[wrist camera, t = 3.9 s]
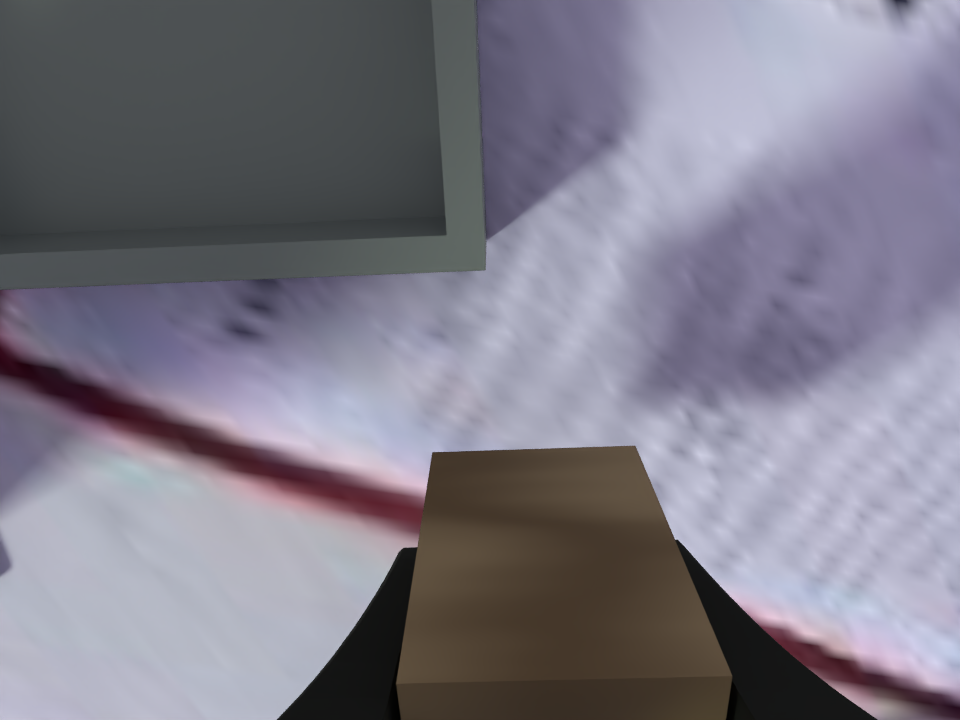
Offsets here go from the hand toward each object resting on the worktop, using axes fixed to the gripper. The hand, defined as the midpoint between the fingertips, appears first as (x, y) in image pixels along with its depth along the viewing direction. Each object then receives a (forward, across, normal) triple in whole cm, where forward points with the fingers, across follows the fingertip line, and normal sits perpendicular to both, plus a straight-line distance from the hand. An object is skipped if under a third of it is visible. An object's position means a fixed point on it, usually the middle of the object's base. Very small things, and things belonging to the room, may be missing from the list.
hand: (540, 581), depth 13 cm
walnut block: (+2, 0, 0) cm, 2 cm away
